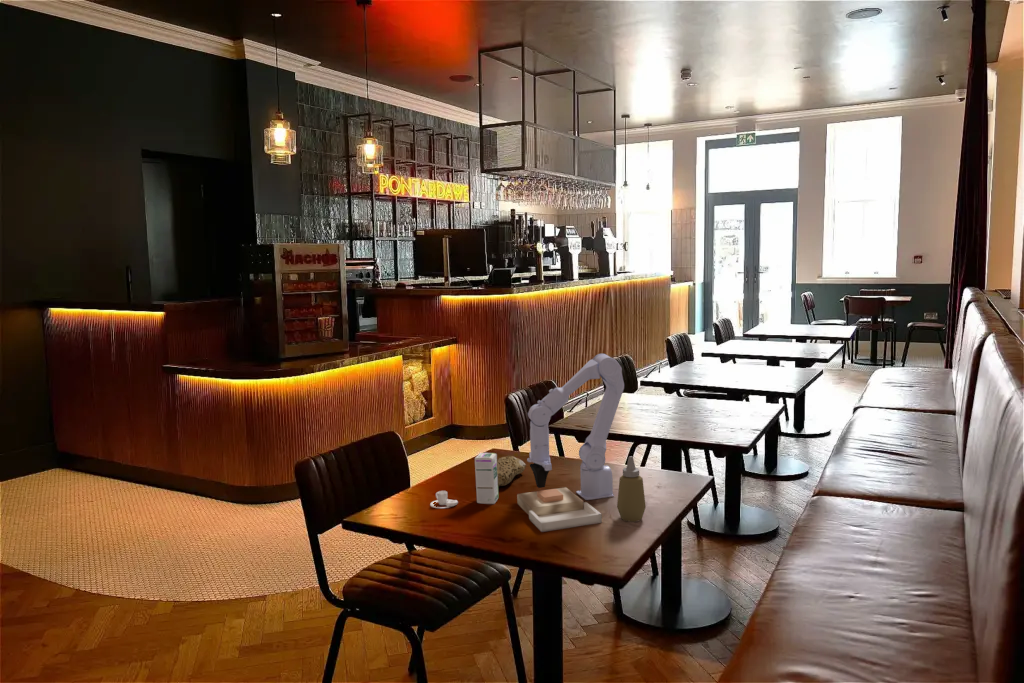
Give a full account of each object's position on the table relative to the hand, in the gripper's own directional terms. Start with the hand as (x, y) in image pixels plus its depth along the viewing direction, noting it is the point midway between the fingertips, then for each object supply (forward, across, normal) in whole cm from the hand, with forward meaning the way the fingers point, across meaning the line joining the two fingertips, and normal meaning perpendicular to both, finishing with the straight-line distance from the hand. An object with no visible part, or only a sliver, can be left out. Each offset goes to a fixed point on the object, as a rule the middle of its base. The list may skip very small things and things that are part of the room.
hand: (540, 486), depth 221 cm
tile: (+1, +8, 0) cm, 8 cm away
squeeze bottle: (+4, +25, +18) cm, 31 cm away
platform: (+4, +7, 0) cm, 8 cm away
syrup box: (+4, -5, -16) cm, 17 cm away
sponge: (+4, -22, -5) cm, 23 cm away
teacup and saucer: (+5, -5, -30) cm, 31 cm away
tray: (+4, +19, 0) cm, 20 cm away
